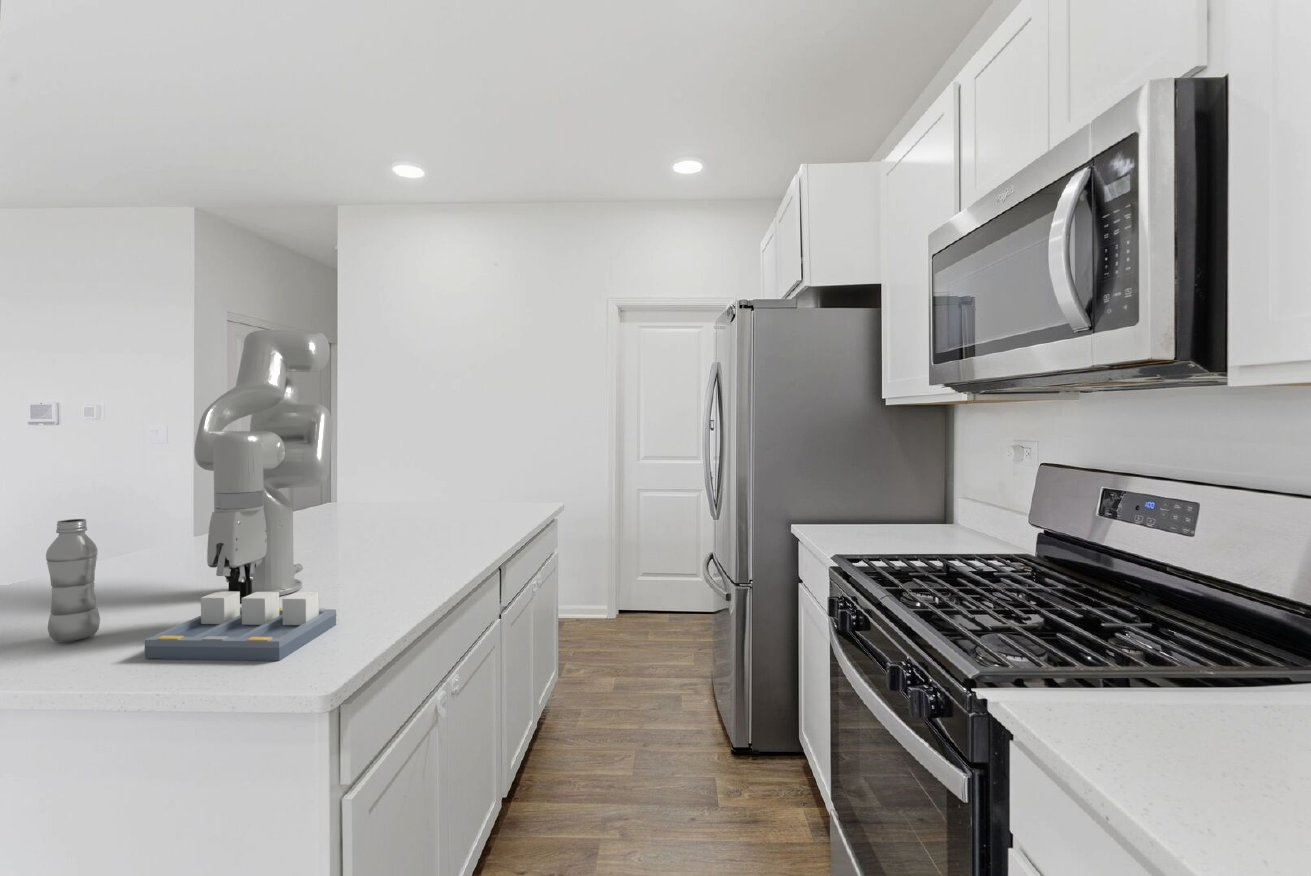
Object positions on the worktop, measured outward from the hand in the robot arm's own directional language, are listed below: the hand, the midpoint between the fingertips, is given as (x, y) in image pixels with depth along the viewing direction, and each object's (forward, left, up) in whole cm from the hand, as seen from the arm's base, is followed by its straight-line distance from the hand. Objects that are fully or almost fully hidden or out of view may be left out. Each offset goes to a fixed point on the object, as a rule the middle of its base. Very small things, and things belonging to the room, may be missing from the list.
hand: (240, 602), depth 116 cm
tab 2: (+5, +7, -2) cm, 9 cm away
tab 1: (+5, 0, -2) cm, 5 cm away
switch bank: (+8, +7, -4) cm, 12 cm away
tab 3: (+5, +14, -2) cm, 15 cm away
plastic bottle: (+9, -22, -4) cm, 24 cm away
